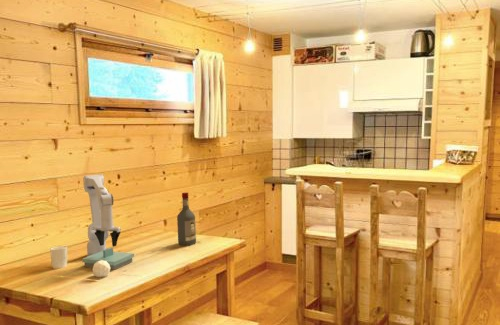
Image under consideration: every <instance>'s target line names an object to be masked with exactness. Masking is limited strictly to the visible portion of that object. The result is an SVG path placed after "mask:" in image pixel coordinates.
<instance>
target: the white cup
mask: <svg viewBox="0 0 500 325" xmlns="http://www.w3.org/2000/svg"><path fill="white" fill-rule="evenodd" d="M49 251H50V260H51V266H52V267H51V268H52V269H62V268H66V267H67V266H68V246H67V245H57V246H53V247H50V248H49Z"/></svg>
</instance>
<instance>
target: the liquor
mask: <svg viewBox="0 0 500 325" xmlns="http://www.w3.org/2000/svg"><path fill="white" fill-rule="evenodd" d="M181 197H182V198H181V199H182V209H181V210H180V212H179V213H178V214H177V216H176V218H177V219H176V220H177V222H176V223H177V243H178V245H180V246H187V247H188V246H191V245H195V244H196V243H197V232H196V216H195V214H194V212H193V211H192V210H191V209H190V206H189V204H190V203H189V192H181Z"/></svg>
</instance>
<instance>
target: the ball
mask: <svg viewBox="0 0 500 325" xmlns="http://www.w3.org/2000/svg"><path fill="white" fill-rule="evenodd" d="M110 271H111V270H110V265H109V264H108V263H107V261H103V260H101V261H98V262H96V263H95V264H94V266H93V268H92V273H93V275H94V276H95V277H96V278H104V277H107V276H108V275H109V274H110V273H111V272H110Z"/></svg>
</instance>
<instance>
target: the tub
mask: <svg viewBox="0 0 500 325" xmlns="http://www.w3.org/2000/svg"><path fill="white" fill-rule="evenodd" d="M131 263H133V258H131V259H128V260H126V261H124V262H122V263H119V264H117V265H115V266H113V265H110V271H115V270H118V269H120V268H122V267H124V266H127V265H130V264H131ZM93 266H94V263H84V268H89V269H90V268H92V269H93Z"/></svg>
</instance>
